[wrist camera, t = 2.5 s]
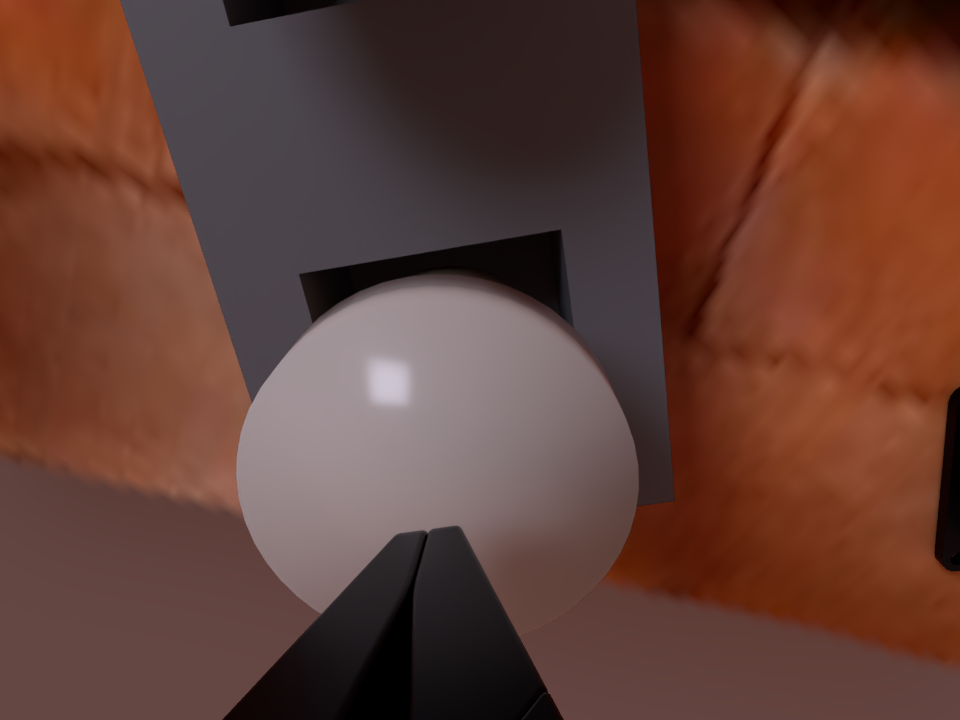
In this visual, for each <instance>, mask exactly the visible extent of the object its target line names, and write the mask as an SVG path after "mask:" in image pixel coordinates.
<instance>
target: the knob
mask: <svg viewBox="0 0 960 720" xmlns="http://www.w3.org/2000/svg"><path fill="white" fill-rule="evenodd" d="M236 479H237V487H238V495H239V501H240V505H241V508H242V512H243V516H244V519H245V522H246V525H247V527H248V529H249V532H250V534H251V536H252V538H253V541H254V542H255V545H256V546H257V548H258V549H259V551H260V553H261V554H262V556H263V558H264V559H265V561H266V562H267V564H268V565H269V566H270V567H271V569H272V570H273V571H274V572H275V574H276V575H277V576H278V577H279V579H280V580H281V581H282V582H283V583H284V584H285V585H286V586H287V587H288V588H289V589H290V590H291V591H292V592H293V593H294V594H295V595H297V596H298V597H299V598H300V599H301V600H303V601H304V602H305V603H307V604H308V605H309V606H311V607H312V608H313V609H314V610H316V611H318V612H319V613H321V614H322V613H323V612H324V610H325V609H326V608H327V607H328V606H329V605H330V604H331V603H332V602H333V601H334V600H335V599H336V598H337V597H338V595H339V594H340V593H341V592H342V591H343V590H344V589H345V588H346V587H347V586H348V585H349V584H350V583H351V582H352V581H353V579H354V578H355V577H356V576H357V575H358V574H359V573H360V572H361V571H362V570H363V569H364V568H365V567H366V566H367V564H368V563H369V562H370V561H371V560H372V559H373V558H374V557H375V556H376V555H377V554H378V553H379V552H380V551H381V550H382V548H383V547H384V546H385V545H386V544H387V543H388V542H389V541H390V540H391V539H392V538H393V537H394V536H395V535H396V534H399V533H405V532H412V531H420V530H425V531H427V532H428V533H429V531H430V530H431V529H434V528H441V527H448V526H455V525H456V526H460V527H461V528H462V530H463V532H464V534H465V536H466V538H467V539H468V541H469V543H470V545H471V547H472V549H473V551H474V553H475V554H476V556H477V558H478V560H479V562H480V564H481V566H482V568H483V570H484V571H485V573H486V575H487V577H488V579H489V581H490V583H491V585H492V587H493V588H494V590H495V592H496V594H497V596H498V598H499V600H500V602H501V603H502V605H503V607H504V609H505V611H506V613H507V615H508V617H509V619H510V620H511V622H512V624H513V626H514V628H515V630H516V632H517V634H518V636H521V635H523V634H526V633H528V632H531V631H533V630H536V629H538V628H540V627H542V626H544V625H546V624H547V623H549V622H551V621H553V620H555V619H557V618H558V617H560V616H561V615H563V614H564V613H566V612H567V611H568V610H570V609H571V608H573V607H574V606H575V605H577V604H578V603H579V602H580V601H581V600H582V599H584V597H586V596H587V595H588V594H589V593H590V592H591V591H592V590H593V589H594V588H595V587H596V586H597V585H598V584H599V583H600V581H601V580H602V579H603V578H604V577H605V575H606V574H607V573H608V572H609V570H610V569H611V567H612V566H613V564H614V562H615V561H616V559H617V558H618V556H619V555H620V553H621V551H622V549H623V546H624V544H625V542H626V540H627V538H628V535H629V533H630V530H631V527H632V523H633V520H634V516H635V513H636V507H637V499H638V492H639V472H638V461H637V455H636V450H635V444H634V440H633V437H632V435H631V432H630V429H629V426H628V423H627V420H626V417H625V415H624V413H623V411H622V408H621V406H620V404H619V401H618V399H617V397H616V395H615V392H614V390H613V388H612V385H611V383H610V381H609V379H608V377H607V375H606V373H605V371H604V369H603V367H602V365H601V363H600V361H599V359H598V358H597V356H596V355H595V353H594V352H593V351H592V349H591V348H590V346H589V345H588V344H587V342H586V341H585V340H584V339H583V338H582V336H581V335H580V334H579V333H578V332H577V331H576V330H575V329H574V328H573V327H572V326H571V325H570V324H569V323H568V322H567V321H565V320H564V319H563V318H562V317H560V316H559V315H558V314H557V313H556V312H554V311H553V310H552V309H551V308H549V307H547V306H546V305H544V304H542V303H541V302H539V301H537V300H536V299H534V298H532V297H531V296H529V295H526V294H524V293H523V292H522V291H520V290H519V289H518V288H517V287H515V286H514V285H513V284H512V283H510V282H508V281H507V280H505V279H503V278H502V277H500V276H497V275H495V274H493V273H491V272H488V271H485V270H481V269H478V268H473V267H467V266H452V265H448V266H439V267H433V268H429V269H424V270H421V271H419V272H416V273H413V274H411V275H409V276H407V277H404V278H400V279H395V280H391V281H387V282H383V283H380V284H377V285H375V286H372V287H370V288H367V289H364V290H362V291H359V292H357V293H356V294H354V295H352V296H350V297H348V298H346V299H345V300H343V301H341V302H339V303H338V304H336V305H335V306H334V307H332V308H331V309H329V310H328V311H327V312H325V313H324V314H323V315H321V316H320V317H319V318H318V319H317V320H316V321H315V322H314V323H313V324H312V325H311V326H310V327H309V328H308V329H307V330H306V331H305V332H304V333H303V334H302V335H301V337H300V338H299V339H298V340H297V342H296V343H295V344H294V345H293V347H292V348H291V349H290V350H289V352H288V353H287V354H286V355H285V357H284V358H283V359H282V360H281V362H280V363H279V364H278V365H277V367H276V368H275V369H274V371H273V372H272V373H271V375H270V376H269V377H268V379H267V380H266V381H265V383H264V384H263V385H262V387H261V388H260V390H259V392H258V393H257V395H256V397H255V399H254V401H253V403H252V405H251V407H250V408H249V411H248V414H247V416H246V419H245V422H244V425H243V428H242V431H241V435H240V441H239V446H238V452H237V472H236Z"/></svg>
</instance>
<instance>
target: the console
mask: <svg viewBox="0 0 960 720" xmlns="http://www.w3.org/2000/svg"><path fill="white" fill-rule="evenodd" d="M120 2H121V5H122V8H123V11H124V14H125V17H126V20H127V23H128V26H129V29H130V32H131V35H132V38H133V41H134V44H135V47H136V50H137V53H138V56H139V59H140V63H141V66H142V69H143V72H144V75H145V78H146V81H147V84H148V87H149V90H150V93H151V96H152V99H153V102H154V105H155V108H156V111H157V114H158V117H159V120H160V124H161V127H162V130H163V133H164V136H165V139H166V142H167V145H168V148H169V151H170V154H171V157H172V160H173V163H174V166H175V169H176V172H177V175H178V178H179V181H180V185H181V188H182V191H183V194H184V197H185V200H186V203H187V206H188V209H189V212H190V215H191V218H192V221H193V224H194V227H195V230H196V233H197V236H198V239H199V242H200V246H201V249H202V252H203V255H204V258H205V261H206V264H207V267H208V270H209V273H210V276H211V279H212V282H213V285H214V288H215V291H216V294H217V297H218V300H219V304H220V307H221V310H222V313H223V316H224V319H225V322H226V325H227V328H228V331H229V334H230V337H231V340H232V343H233V346H234V349H235V352H236V355H237V358H238V361H239V365H240V368H241V371H242V374H243V377H244V380H245V383H246V386H247V389H248V392H249V395H250V398H251V401H252V403H253V401H254V399H255V397H256V395H257V393H258V392H259V390H260V388H261V387H262V385H263V384H264V383H265V381H266V380H267V379H268V377H269V376H270V375H271V373H272V372H273V371H274V369H275V368H276V367H277V365H278V364H279V363H280V362H281V360H282V359H283V358H284V357H285V355H286V354H287V353H288V352H289V350H290V349H291V348H292V347H293V345H294V344H295V343H296V342H297V340H298V339H299V338H300V337H301V335H302V334H303V333H304V332H305V331H306V330H307V329H308V328H309V327H310V326H311V325H312V324H313V323H314V322H315V321H316V320H317V319H318V318H319V317H320V316H321V315H323V314H324V313H325V312H327V311H328V310H329V309H331V308H332V307H334V306H335V305H336V304H338V303H339V302H341V301H343V300H345V299H346V298H348V297H350V296H352V295H354V294H356V293H357V292H359V291H362V290H364V289H367V288H370V287H372V286H375V285H377V284H380V283H383V282H387V281H391V280H395V279H400V278H404V277H407V276H409V275H411V274H413V273H416V272H419V271H421V270H424V269H429V268H433V267H439V266H448V265H452V266H467V267H473V268H478V269H481V270H485V271H488V272H491V273H493V274H495V275H497V276H500V277H502V278H503V279H505V280H507V281H508V282H510V283H512V284H513V285H514V286H515V287H517V288H518V289H519V290H520V291H522V292H523V293H524V294H526V295H529V296H531V297H532V298H534V299H536V300H537V301H539V302H541V303H542V304H544V305H546V306H547V307H549V308H551V309H552V310H553V311H554V312H556V313H557V314H558V315H559V316H560V317H562V318H563V319H564V320H565V321H567V322H568V323H569V324H570V325H571V326H572V327H573V328H574V329H575V330H576V331H577V332H578V333H579V334H580V335H581V336H582V338H583V339H584V340H585V341H586V342H587V344H588V345H589V346H590V348H591V349H592V351H593V352H594V353H595V355H596V356H597V358H598V359H599V361H600V363H601V365H602V367H603V369H604V371H605V373H606V375H607V377H608V379H609V381H610V383H611V385H612V388H613V390H614V392H615V395H616V397H617V399H618V401H619V404H620V406H621V408H622V411H623V413H624V415H625V417H626V420H627V423H628V426H629V429H630V432H631V435H632V437H633V440H634V444H635V450H636V455H637V461H638V472H639V492H638V499H637V506H643V505H650V504H657V503H664V502H671V501H675V497H674V484H673V472H672V459H671V446H670V433H669V420H668V407H667V394H666V381H665V368H664V356H663V343H662V330H661V317H660V304H659V291H658V278H657V265H656V252H655V240H654V227H653V214H652V201H651V188H650V175H649V162H648V149H647V136H646V123H645V111H644V98H643V85H642V72H641V59H640V46H639V33H638V20H637V7H636V0H120Z"/></svg>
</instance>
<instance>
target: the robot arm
mask: <svg viewBox="0 0 960 720" xmlns="http://www.w3.org/2000/svg"><path fill="white" fill-rule="evenodd" d="M955 553H957V554H956V555H955V556H953V555H954V554H955ZM952 556H953V557H952ZM935 558H936V559H937V560H938V561H939V562H940V563H941V564H942V565H943V566H944V567H945V568H946V569H947V570H950V571H960V387H959V388H958V389H956V390H955V391H954V392H953V393H952V395H951V396H950V399H949V402H948V413H947V424H946V435H945V446H944V457H943V468H942V479H941V489H940V500H939V511H938V522H937V533H936V544H935ZM223 720H564V719H563V718H562V716H561V714H560V712H559V710H558V708H557V706H556V705H555V703H554V701H553V699H552V697H551V695H550V694H549V693H548V691H547V688H546V686H545V685H544V683H543V681H542V679H541V677H540V675H539V673H538V671H537V670H536V668H535V666H534V664H533V662H532V660H531V658H530V656H529V654H528V652H527V651H526V649H525V647H524V645H523V643H522V642H521V639H520V637H519V636H518V634H517V632H516V630H515V628H514V626H513V624H512V622H511V620H510V619H509V617H508V615H507V613H506V611H505V609H504V607H503V605H502V603H501V602H500V600H499V598H498V596H497V594H496V592H495V590H494V588H493V587H492V585H491V583H490V581H489V579H488V577H487V575H486V573H485V571H484V570H483V568H482V566H481V564H480V562H479V560H478V558H477V556H476V554H475V553H474V551H473V549H472V547H471V545H470V543H469V541H468V539H467V538H466V536H465V534H464V532H463V530H462V528H461V527H460V526H456V525H455V526H448V527H441V528H434V529H431V530H430V531H429V533H428V532H427V531H425V530H420V531H412V532H405V533H399V534H396V535H395V536H394V537H393V538H392V539H391V540H390V541H389V542H388V543H387V544H386V545H385V546H384V547H383V548H382V550H381V551H380V552H379V553H378V554H377V555H376V556H375V557H374V558H373V559H372V560H371V561H370V562H369V563H368V564H367V566H366V567H365V568H364V569H363V570H362V571H361V572H360V573H359V574H358V575H357V576H356V577H355V578H354V579H353V581H352V582H351V583H350V584H349V585H348V586H347V587H346V588H345V589H344V590H343V591H342V592H341V593H340V594H339V595H338V597H337V598H336V599H335V600H334V601H333V602H332V603H331V604H330V605H329V606H328V607H327V608H326V609H325V610H324V612H323V613H322V614H321V615H320V616H319V617H318V618H317V619H316V620H315V621H314V622H313V623H312V624H311V625H310V626H309V628H308V629H307V630H306V631H305V632H304V633H303V634H302V635H301V636H300V637H299V638H298V639H297V640H296V641H295V643H294V644H293V645H292V646H291V647H290V648H289V649H288V650H287V651H286V652H285V653H284V654H283V655H282V657H281V658H280V659H279V660H278V661H277V662H276V663H275V664H274V665H273V666H272V667H271V668H270V669H269V670H268V671H267V672H266V674H265V675H264V676H263V677H262V678H261V679H260V680H259V681H258V682H257V683H256V684H255V685H254V686H253V687H252V689H251V690H250V691H249V692H248V693H247V694H246V695H245V696H244V697H243V698H242V699H241V700H240V701H239V703H237V704H236V706H235V707H234V708H233V709H232V710H231V711H230V712H229V713H228V714H227V715H226V716H225V717H224V719H223Z"/></svg>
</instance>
